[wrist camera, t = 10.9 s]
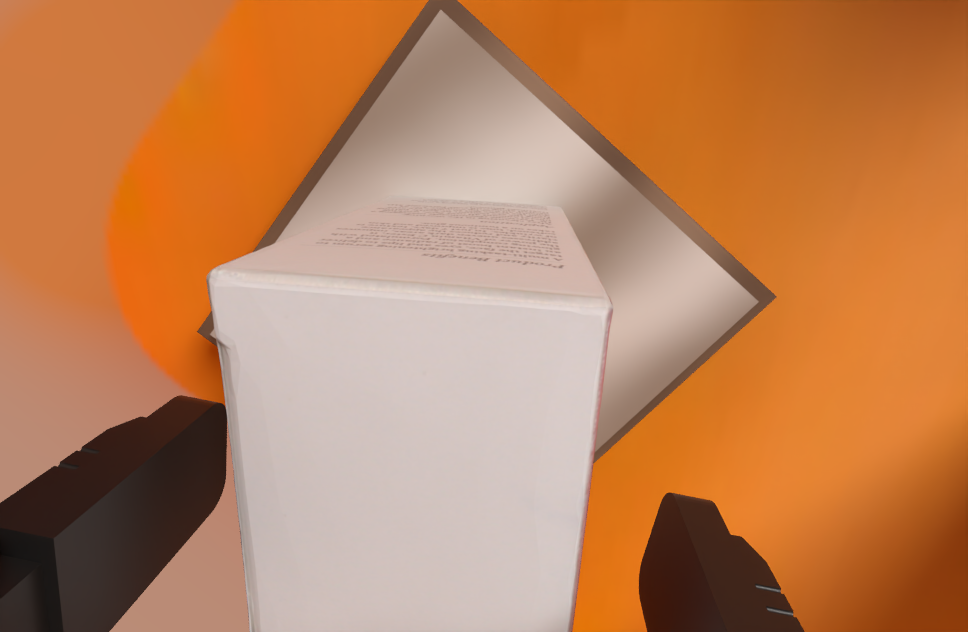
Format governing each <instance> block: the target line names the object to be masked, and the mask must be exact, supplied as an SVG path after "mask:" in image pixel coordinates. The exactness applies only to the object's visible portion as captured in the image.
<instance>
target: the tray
mask: <svg viewBox="0 0 968 632" xmlns="http://www.w3.org/2000/svg"><path fill="white" fill-rule="evenodd" d="M389 196H399V197H422V198H439V199H456V200H472V201H489V202H506V203H520V204H534V205H547V206H557V207H561V208H562V209H563V211H564V213H565V215H566V217H567V219H568V221H569V223H570V224H571V226H572V228H573V230H574V232H575V234H576V236H577V238H578V240H579V242H580V243H581V245H582V247H583V249H584V251H585V252H586V254H587V256H588V258H589V260H590V262H591V264H592V266H593V268H594V270H595V272H596V273H597V275H598V277H599V279H600V280H601V282H602V284H603V286H604V288H605V290H606V292H607V293H608V295H609V297H610V299H611V302H612V304H613V315H612V320H611V325H610V331H609V340H608V348H607V357H606V365H605V374H604V383H603V392H602V400H601V407H600V415H599V422H598V430H597V438H596V446H595V453H594V461H593V463H595V462H596V461H597V460H598V459H599V458H600V457H601V456H602V455H603V454H604V453H606V452H607V451H608V450H609V449H610V448H611V447H612V446H613V445H614V444H615V443H617V442H618V441H619V440H620V439H621V438H622V437H623V436H624V435H625V434H626V433H628V432H629V431H630V430H631V429H632V428H633V427H634V426H635V425H636V424H637V423H639V422H640V421H641V420H642V419H643V418H644V417H645V416H646V415H647V414H648V413H650V412H651V411H652V410H653V409H654V408H655V407H656V406H657V405H658V404H659V403H661V402H662V401H663V400H664V399H665V398H666V397H667V396H668V395H669V394H670V393H672V392H673V391H674V390H675V389H676V388H677V387H678V386H679V385H680V384H681V383H683V382H684V381H685V380H686V379H687V378H688V377H689V376H690V375H691V374H692V373H694V372H695V371H696V370H697V369H698V368H699V367H700V366H701V365H702V364H703V363H705V362H706V361H707V360H708V359H709V358H710V357H711V356H712V355H713V354H714V353H716V352H717V351H718V350H719V349H720V348H721V347H722V346H723V345H724V344H725V343H727V342H728V341H729V340H730V339H731V338H732V337H733V336H734V335H735V334H736V333H738V332H739V331H740V330H741V329H742V328H743V327H744V326H745V325H746V324H747V323H749V322H750V321H751V320H752V319H753V318H754V317H755V316H756V315H757V314H758V313H760V312H761V311H762V310H763V309H764V308H765V307H766V306H767V305H768V304H769V303H771V302H772V301H773V300H774V299H775V298H776V296H775V295H774V294H773V293H772V292H771V291H770V290H769V289H768V288H767V287H766V286H764V285H763V284H762V283H761V282H760V281H759V280H758V279H757V278H756V277H755V276H754V275H753V274H752V273H750V272H749V271H748V270H747V269H746V268H745V267H744V266H743V265H742V264H741V263H740V262H739V261H738V260H736V259H735V258H734V257H733V256H732V255H731V254H730V253H729V252H728V251H727V250H726V249H725V248H724V247H722V246H721V245H720V244H719V243H718V242H717V241H716V240H715V239H714V238H713V237H712V236H711V235H709V234H708V233H707V232H706V231H705V230H704V229H703V228H702V227H701V226H700V225H699V224H698V223H697V222H695V221H694V220H693V219H692V218H691V217H690V216H689V215H688V214H687V213H686V212H685V211H684V210H683V209H681V208H680V207H679V206H678V205H677V204H676V203H675V202H674V201H673V200H672V199H671V198H670V197H668V196H667V195H666V194H665V193H664V192H663V191H662V190H661V189H660V188H659V187H658V186H657V185H656V184H654V183H653V182H652V181H651V180H650V179H649V178H648V177H647V176H646V175H645V174H644V173H643V172H642V171H640V170H639V169H638V168H637V167H636V166H635V165H634V164H633V163H632V162H631V161H630V160H629V159H628V158H626V157H625V156H624V155H623V154H622V153H621V152H620V151H619V150H618V149H617V148H616V147H615V146H613V145H612V144H611V143H610V142H609V141H608V140H607V139H606V138H605V137H604V136H603V135H602V134H601V133H599V132H598V131H597V130H596V129H595V128H594V127H593V126H592V125H591V124H590V123H589V122H588V121H587V120H585V119H584V118H583V117H582V116H581V115H580V114H579V113H578V112H577V111H576V110H575V109H574V108H572V107H571V106H570V105H569V104H568V103H567V102H566V101H565V100H564V99H563V98H562V97H561V96H560V95H558V94H557V93H556V92H555V91H554V90H553V89H552V88H551V87H550V86H549V85H548V84H547V83H546V82H544V81H543V80H542V79H541V78H540V77H539V76H538V75H537V74H536V73H535V72H534V71H533V70H532V69H530V68H529V67H528V66H527V65H526V64H525V63H524V62H523V61H522V60H521V59H520V58H519V57H517V56H516V55H515V54H514V53H513V52H512V51H511V50H510V49H509V48H508V47H507V46H506V45H505V44H503V43H502V42H501V41H500V40H499V39H498V38H497V37H496V36H495V35H494V34H493V33H492V32H491V31H489V30H488V29H487V28H486V27H485V26H484V25H483V24H482V23H481V22H480V21H479V20H478V19H476V18H475V17H474V16H473V15H472V14H471V13H470V12H469V11H468V10H467V9H466V8H465V7H464V6H462V5H461V4H460V3H459V2H458V1H457V0H429V1H428V2H427V4H426V5H425V7H424V8H423V10H422V11H421V12H420V14H419V15H418V17H417V18H416V20H415V21H414V22H413V24H412V25H411V27H410V28H409V30H408V31H407V32H406V34H405V35H404V37H403V38H402V40H401V41H400V42H399V44H398V45H397V47H396V48H395V50H394V51H393V53H392V54H391V55H390V57H389V58H388V60H387V61H386V63H385V64H384V65H383V67H382V68H381V70H380V71H379V73H378V74H377V75H376V77H375V78H374V80H373V81H372V83H371V84H370V85H369V87H368V88H367V90H366V91H365V93H364V94H363V95H362V97H361V98H360V100H359V101H358V103H357V104H356V105H355V107H354V108H353V110H352V111H351V113H350V114H349V115H348V117H347V118H346V120H345V121H344V123H343V124H342V125H341V127H340V128H339V130H338V131H337V133H336V134H335V135H334V137H333V138H332V140H331V141H330V143H329V144H328V145H327V147H326V148H325V150H324V151H323V153H322V154H321V155H320V157H319V158H318V160H317V161H316V163H315V164H314V165H313V167H312V168H311V170H310V171H309V173H308V174H307V175H306V177H305V178H304V180H303V181H302V183H301V184H300V185H299V187H298V188H297V190H296V191H295V193H294V194H293V195H292V197H291V198H290V200H289V201H288V203H287V204H286V206H285V207H284V208H283V210H282V211H281V213H280V214H279V216H278V217H277V218H276V220H275V221H274V223H273V224H272V226H271V227H270V228H269V230H268V231H267V233H266V234H265V236H264V237H263V238H262V240H261V241H260V243H259V244H258V246H257V247H256V248H255V250H254V251H253V252H255V251H257V250H260V249H262V248H265V247H267V246H270V245H272V244H275V243H277V242H279V241H282V240H284V239H286V238H289V237H291V236H294V235H296V234H299V233H302V232H304V231H307V230H309V229H311V228H313V227H316V226H318V225H321V224H323V223H326V222H328V221H330V220H333V219H336V218H338V217H340V216H342V215H345V214H348V213H350V212H353V211H355V210H358V209H360V208H363V207H365V206H368V205H370V204H373V203H375V202H378V201H380V200H383V199H385V198H387V197H389ZM197 332H198V333H199V334H201V335H202V336H204V337H205V338H206V339H208V340H209V341H210V342H212V343H213V344H214V345H216V346H217V340H216V335H215V330H214V323H213V316H212V311H211V313H210V314H209V316H208V317H207V318H206V320H205V321H204V323H203V324H202V326H201V327H200V328H199V330H198V331H197ZM217 347H218V346H217Z"/></svg>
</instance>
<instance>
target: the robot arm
mask: <svg viewBox="0 0 968 632" xmlns="http://www.w3.org/2000/svg"><path fill="white" fill-rule="evenodd" d="M226 444H227V412H226V408H225V406H224V405H223V404H222V403H217V402H212V401H207V400H202V399H197V398H192V397H187V396H177V397H175V398H173V399H172V400H170V401H169V402H167V403H166V404H165V405H163V406H162V407H160V408H159V409H158V410H156V411H155V412H154V413H152V414H151V415H150V416H148V417H147V418H145V417H138V418H136V419H133V420H131V421H128V422H126V423H123V424H120V425H118V426H115V427H113V428H110V429H107V430H106V431H105V432H103V433H102V434H100V435H99V436H97V437H96V438H94V439H93V440H92V441H90V442H88V443H87V444H86V445H84V446H83V447H82V449H81V451H75V452H74V453H72V454H71V455H70V456H68V457H67V458H65V459H64V460H62V461H61V462H60V465H59V466H58V467H57V466H54V467H52V468H51V469H49V470H48V471H46V472H45V473H43V474H42V475H40V476H39V477H37V478H36V479H35V480H33V481H32V482H30V483H29V484H27V485H26V486H24V487H23V488H21V489H20V490H19V491H17V492H16V493H14V494H13V495H11V496H10V497H8V498H7V499H5V500H4V501H2V502H1V503H0V632H109V631H110V630H111V629H112V628H113V627H114V625H115V624H116V623H117V622H118V621H119V620H120V618H121V617H122V616H123V615H124V614H125V612H126V611H127V610H128V609H129V608H130V607H131V606H132V604H133V603H134V602H135V601H136V600H137V599H138V597H139V596H140V595H141V594H142V593H143V592H144V590H145V589H146V588H147V587H148V586H149V585H150V583H151V582H152V581H153V580H154V579H155V578H156V577H157V575H158V574H159V573H160V572H161V571H162V569H163V568H164V567H165V566H166V565H167V564H168V562H169V561H170V560H171V559H172V558H173V557H174V556H175V554H176V553H177V552H178V551H179V550H180V549H181V547H182V546H183V545H184V544H185V543H186V542H187V540H188V539H189V538H190V537H191V536H192V535H193V533H194V532H195V531H196V530H197V529H198V528H199V526H200V525H201V524H202V523H203V522H204V521H205V519H206V518H207V517H208V516H209V514H211V512H212V511H213V510H214V508H215V507H216V505H217V503H218V501H219V499H220V497H221V494H222V492H223V489H224V484H225V479H226V448H227V445H226ZM780 590H781V588H780V586H779V584H778V583H777V581H776V579H775V577H774V575H773V573H772V572H771V570H770V568H769V566H768V564H767V562H766V561H765V560H764V559H763V558H762V557H761V556H760V555H759V554H758V553H757V552H756V551H755V550H754V549H753V548H752V547H751V546H750V545H749V544H748V543H747V542H746V541H745V540H744V539H743V538H742V537H740V536H735V535H730V533H729V531H728V529H727V527H726V525H725V523H724V521H723V519H722V517H721V515H720V512H719V510H718V508H717V507H716V505H715V503H714V502H712V501H710V500H705V499H700V498H695V497H690V496H685V495H680V494H675V493H667V494H666V495H665V496H664V497H663V499H662V502H661V504H660V507H659V510H658V513H657V516H656V519H655V522H654V525H653V528H652V532H651V535H650V538H649V541H648V544H647V547H646V550H645V553H644V556H643V559H642V562H641V567H640V574H639V595H640V601H641V606H642V610H643V615H644V619H645V623H646V628H647V632H804V630H803V628H802V626H801V625H800V623H799V621H798V619H797V618H796V617H793V610H792V608H791V606H790V604H789V603H788V601H787V599H786V597H785V595H784V594H781V592H780Z"/></svg>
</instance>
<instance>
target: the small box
mask: <svg viewBox="0 0 968 632" xmlns="http://www.w3.org/2000/svg"><path fill="white" fill-rule="evenodd" d="M207 287H208V294H209V299H210V304H211V309H212V316H213V323H214V330H215V335H216V340H217V346H218V351H219V358H220V365H221V372H222V379H223V387H224V395H225V404H226V412H227V421H228V430H229V438H230V445H231V454H232V462H233V469H234V482H235V491H236V499H237V508H238V517H239V526H240V534H241V545H242V555H243V564H244V573H245V584H246V594H247V605H248V617H249V630H250V632H572V629H573V621H574V613H575V605H576V598H577V590H578V582H579V574H580V566H581V557H582V548H583V541H584V533H585V526H586V518H587V510H588V502H589V494H590V486H591V477H592V469H593V461H594V453H595V446H596V438H597V430H598V422H599V415H600V407H601V400H602V392H603V383H604V374H605V365H606V357H607V348H608V340H609V331H610V325H611V320H612V315H613V304H612V302H611V299H610V297H609V295H608V293H607V292H606V290H605V288H604V286H603V284H602V282H601V280H600V279H599V277H598V275H597V273H596V272H595V270H594V268H593V266H592V264H591V262H590V260H589V258H588V256H587V254H586V252H585V251H584V249H583V247H582V245H581V243H580V242H579V240H578V238H577V236H576V234H575V232H574V230H573V228H572V226H571V224H570V223H569V221H568V219H567V217H566V215H565V213H564V211H563V209H562V208H561V207H557V206H547V205H534V204H520V203H506V202H489V201H472V200H456V199H439V198H422V197H399V196H389V197H387V198H385V199H383V200H380V201H378V202H375V203H373V204H370V205H368V206H365V207H363V208H360V209H358V210H355V211H353V212H350V213H348V214H345V215H342V216H340V217H338V218H336V219H333V220H330V221H328V222H326V223H323V224H321V225H318V226H316V227H313V228H311V229H309V230H307V231H304V232H302V233H299V234H296V235H294V236H291V237H289V238H286V239H284V240H282V241H279V242H277V243H275V244H272V245H270V246H267V247H265V248H262V249H260V250H257V251H255V252H253V253H250V254H247V255H245V256H242V257H240V258H237V259H235V260H233V261H230V262H227V263H225V264H222V265H220V266H218V267H216V268H214V269H212V270H211V271H210V272H209V274H208V275H207Z"/></svg>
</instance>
